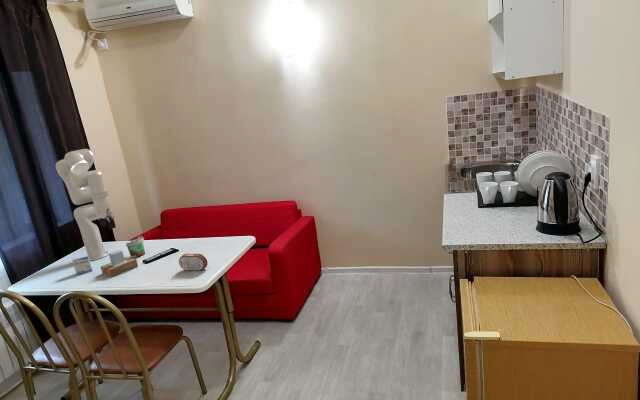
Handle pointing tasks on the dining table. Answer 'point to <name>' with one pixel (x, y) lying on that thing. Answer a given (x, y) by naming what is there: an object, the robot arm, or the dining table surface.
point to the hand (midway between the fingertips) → (108, 227)
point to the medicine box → (82, 264)
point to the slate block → (116, 257)
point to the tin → (193, 262)
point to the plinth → (119, 267)
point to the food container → (136, 247)
